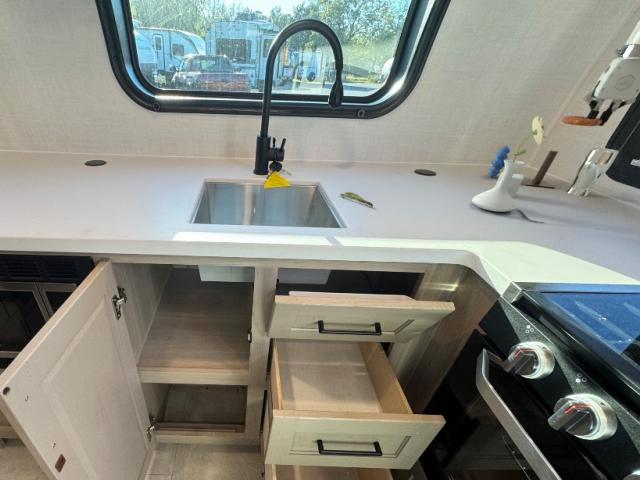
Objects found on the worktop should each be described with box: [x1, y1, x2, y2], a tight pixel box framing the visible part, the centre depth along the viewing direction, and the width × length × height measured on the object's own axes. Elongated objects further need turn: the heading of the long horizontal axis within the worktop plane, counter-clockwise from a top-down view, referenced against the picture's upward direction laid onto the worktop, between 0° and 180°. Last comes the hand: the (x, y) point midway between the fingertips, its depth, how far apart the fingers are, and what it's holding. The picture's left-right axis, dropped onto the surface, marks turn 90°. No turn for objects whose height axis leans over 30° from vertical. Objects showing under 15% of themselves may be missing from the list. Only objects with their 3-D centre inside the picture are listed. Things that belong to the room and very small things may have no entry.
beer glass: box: [565, 147, 620, 197], centre depth 106 cm, size 7×7×15 cm
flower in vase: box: [471, 115, 547, 213], centre depth 91 cm, size 13×11×25 cm
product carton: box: [494, 171, 525, 199], centre depth 105 cm, size 6×6×7 cm
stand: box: [520, 149, 559, 190], centre depth 116 cm, size 9×9×12 cm
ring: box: [561, 115, 602, 127], centre depth 103 cm, size 10×10×2 cm
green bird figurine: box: [339, 191, 374, 209], centre depth 101 cm, size 4×13×2 cm, turn 32°
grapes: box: [488, 145, 511, 178], centre depth 124 cm, size 12×7×12 cm, turn 134°
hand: (593, 124), depth 102 cm, fingers closed on ring, 2 cm apart
